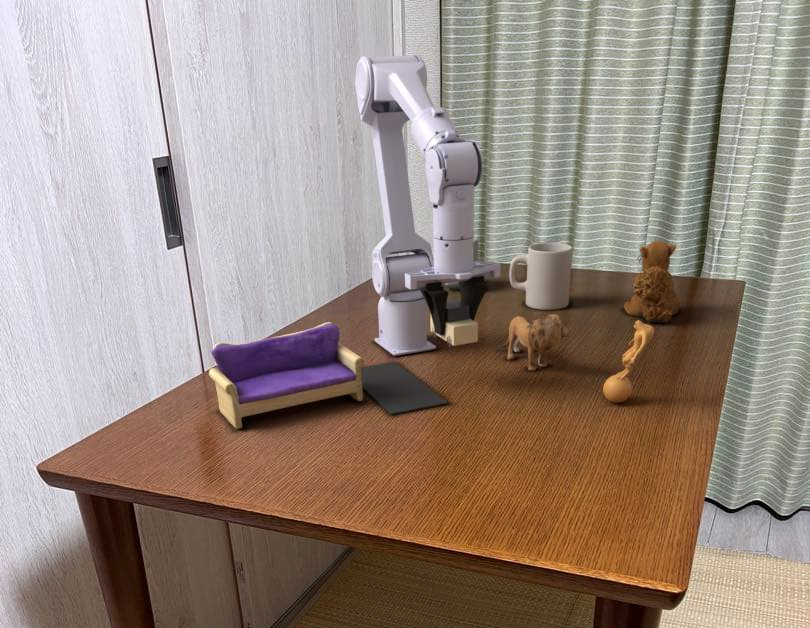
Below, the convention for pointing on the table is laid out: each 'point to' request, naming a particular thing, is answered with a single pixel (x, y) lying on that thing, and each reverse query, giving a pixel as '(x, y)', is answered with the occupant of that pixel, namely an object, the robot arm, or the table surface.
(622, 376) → the figurine
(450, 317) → the toy car
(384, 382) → the mat
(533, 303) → the mug
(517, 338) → the lion figurine
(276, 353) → the toy sofa
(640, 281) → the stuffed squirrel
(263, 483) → the table surface
